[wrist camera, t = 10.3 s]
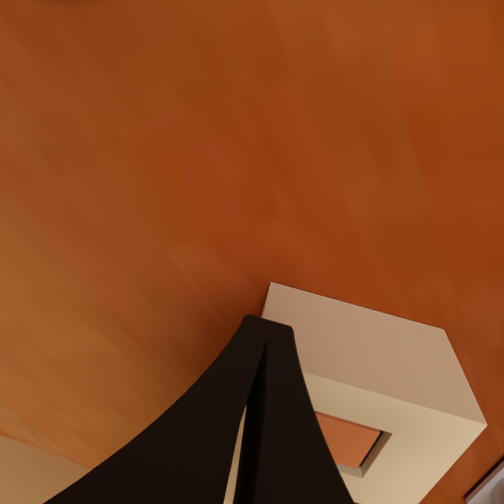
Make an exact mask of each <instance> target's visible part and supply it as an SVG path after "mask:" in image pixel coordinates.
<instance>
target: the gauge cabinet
mask: <svg viewBox="0 0 504 504" xmlns="http://www.w3.org/2000/svg"><path fill="white" fill-rule="evenodd" d="M261 318H264V319H268V320H271V321H275V322H278V323H282V324H285V325H289V326H291V327H292V328H293V330H294V337H295V343H296V348H297V353H298V357H299V361H300V365H301V369H302V373H303V376H304V380H305V383H306V386H307V390H308V393H309V396H310V399H311V402H312V405H313V408H314V411H318V412H321V413H324V414H328V415H331V416H335V417H338V418H341V419H345V420H348V421H352V422H355V423H359V424H362V425H365V426H369V427H372V428H376V429H379V430H380V434H379V436H378V437H377V439H376V440H375V442H374V443H373V445H372V446H371V448H370V450H369V451H368V453H367V454H366V456H365V457H364V459H363V460H362V462H361V463H360V465H359V467H358V468H357V469H356V468H352V467H349V466H346V465H342V464H339V463H336V462H335V463H336V465H337V468H338V470H339V472H340V474H341V476H342V478H343V480H344V482H345V485H346V487H347V489H348V491H349V493H350V495H351V497H352V499H353V501H354V502H357V503H360V504H418V503H419V502H420V501H421V500H422V499H423V498H424V497H425V495H426V494H427V493H428V492H429V491H430V490H431V489H432V487H433V486H434V485H435V484H436V483H437V482H438V481H439V480H440V478H441V477H442V476H443V475H444V474H445V473H446V472H447V470H448V469H449V468H450V467H451V466H452V465H453V464H454V463H455V461H456V460H457V459H458V458H459V457H460V456H461V455H462V453H463V452H464V451H465V450H466V449H467V448H468V447H469V446H470V444H471V443H472V442H473V441H474V440H475V439H476V438H477V436H478V435H479V434H480V433H481V432H482V431H483V430H484V429H485V427H486V426H487V423H486V421H485V418H484V416H483V414H482V412H481V410H480V408H479V405H478V403H477V401H476V399H475V397H474V395H473V392H472V390H471V388H470V386H469V384H468V381H467V379H466V377H465V375H464V373H463V371H462V368H461V366H460V364H459V362H458V360H457V357H456V355H455V353H454V351H453V349H452V347H451V344H450V342H449V340H448V338H447V336H446V333H445V331H444V329H440V328H436V327H433V326H429V325H425V324H422V323H418V322H415V321H411V320H407V319H404V318H400V317H396V316H393V315H389V314H386V313H382V312H378V311H375V310H371V309H368V308H364V307H360V306H357V305H353V304H349V303H346V302H342V301H339V300H335V299H331V298H328V297H324V296H320V295H317V294H313V293H310V292H306V291H302V290H299V289H295V288H291V287H288V286H284V285H281V284H277V283H273V282H271V283H270V287H269V290H268V294H267V297H266V301H265V304H264V308H263V311H262V315H261ZM246 405H247V404H246ZM245 412H246V407H245V410H244V414H243V417H242V420H241V423H240V427H239V432H238V436H237V441H236V446H235V451H234V455H233V460H232V465H235V466H238V464H239V456H240V449H241V442H242V434H243V427H244V419H245Z"/></svg>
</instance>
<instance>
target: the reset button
mask: <svg viewBox="0 0 504 504" xmlns="http://www.w3.org/2000/svg"><path fill="white" fill-rule="evenodd" d="M315 414H316V416H317V419H318V422H319V425H320V427H321V430H322V432H323V435H324V437H325V440H326V442H327V445H328V447H329V450H330V452H331V454H332V456H333V459H334V461H335V462H336V463H339V464H342V465H346V466H349V467H352V468H356V469H357V468H358V467H359V465H360V463H361V462H362V460H363V459H364V457H365V456H366V454H367V453H368V451H369V450H370V448H371V446H372V445H373V443H374V442H375V440H376V439H377V437H378V436H379V434H380V430H379V429H376V428H372V427H369V426H365V425H362V424H359V423H355V422H352V421H348V420H345V419H341V418H338V417H335V416H331V415H328V414H324V413H321V412H318V411H315Z"/></svg>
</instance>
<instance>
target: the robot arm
mask: <svg viewBox="0 0 504 504" xmlns="http://www.w3.org/2000/svg"><path fill="white" fill-rule="evenodd" d="M246 404H247V405H246ZM245 407H246V412H245V419H244V427H243V434H242V442H241V449H240V456H239V464H238V471H237V479H236V486H235V492H234V498H233V504H355V503H354V501H353V499H352V497H351V495H350V493H349V491H348V489H347V487H346V485H345V482H344V480H343V478H342V476H341V474H340V472H339V470H338V468H337V465H336V463H335V461H334V459H333V456H332V454H331V452H330V450H329V447H328V445H327V442H326V440H325V437H324V435H323V432H322V430H321V427H320V425H319V422H318V419H317V416H316V414H315V411H314V408H313V405H312V402H311V399H310V396H309V393H308V390H307V386H306V383H305V380H304V376H303V373H302V369H301V365H300V361H299V357H298V353H297V348H296V343H295V337H294V330H293V328H292V327H291V326H289V325H285V324H282V323H278V322H275V321H271V320H268V319H264V318H261V317H257V316H254V315H250V314H248V315H246V316H244V318H243V321H242V323H241V324H240V326H239V328H238V330H237V331H236V333H235V334H234V336H233V337H232V339H231V340H230V341H229V343H228V344H227V346H226V347H225V348H224V349H223V351H222V352H221V353H220V354H219V356H218V357H217V358H216V359H215V361H214V362H213V363H212V364H211V365H210V367H209V368H208V369H207V370H206V371H205V372H204V373H203V374H202V375H201V376H200V377H199V379H198V380H197V381H196V382H195V383H194V384H193V385H192V386H191V387H190V388H189V389H188V390H187V391H186V392H185V393H184V394H183V395H182V396H181V397H180V398H179V399H178V400H177V401H176V402H175V403H174V404H173V405H172V406H171V407H170V408H169V409H167V410H166V411H165V412H164V413H163V414H162V415H161V416H160V417H159V418H157V419H156V420H155V421H154V422H153V423H152V424H150V425H149V426H148V427H147V428H146V429H144V430H143V431H142V432H141V433H140V434H139V435H137V436H136V437H135V438H134V439H132V440H131V441H130V442H129V443H127V444H126V445H125V446H124V447H122V448H121V449H120V450H118V451H117V452H116V453H114V454H113V455H112V456H110V457H109V458H108V459H106V460H105V461H104V462H102V463H101V464H99V465H98V466H97V467H95V468H94V469H93V470H91V471H90V472H89V473H87V474H86V475H85V476H83V477H82V478H80V479H79V480H78V481H77V482H75V483H73V484H72V485H71V486H69V487H68V488H66V489H65V490H63V491H61V492H60V493H58V494H57V495H55V496H54V497H53V498H51V499H49V500H48V501H46V502H45V503H43V504H224V499H225V494H226V489H227V484H228V480H229V475H230V470H231V465H232V460H233V455H234V451H235V446H236V441H237V436H238V432H239V427H240V423H241V420H242V417H243V414H244V410H245ZM465 501H466V504H504V461H503V462H502V463H501V464H500V465H499V466H498V467H497V468H496V469H495V470H494V471H493V472H492V473H491V474H490V475H489V476H488V477H487V478H486V479H485V480H484V481H483V482H482V483H481V484H480V485H479V486H478V487H477V488H476V489H475V490H474V491H473V492H472V493H471V494H470V495H469V496H468V497H467V498H466V499H465Z"/></svg>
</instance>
